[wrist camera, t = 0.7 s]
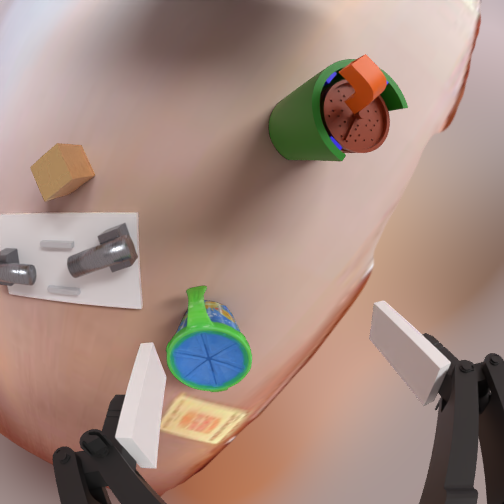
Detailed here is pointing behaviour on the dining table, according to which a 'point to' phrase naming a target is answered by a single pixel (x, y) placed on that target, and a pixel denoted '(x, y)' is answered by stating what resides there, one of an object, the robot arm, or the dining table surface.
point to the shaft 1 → (15, 269)
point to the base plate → (67, 244)
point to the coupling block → (61, 170)
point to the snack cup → (208, 346)
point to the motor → (336, 112)
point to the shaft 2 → (105, 253)
